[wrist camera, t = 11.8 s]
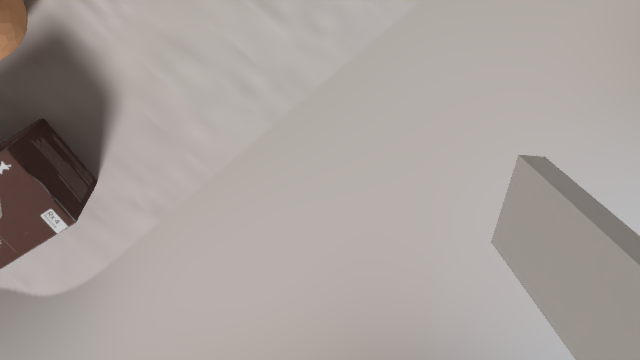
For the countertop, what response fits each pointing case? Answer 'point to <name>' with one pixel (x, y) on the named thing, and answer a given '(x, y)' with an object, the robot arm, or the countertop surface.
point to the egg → (11, 25)
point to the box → (38, 190)
